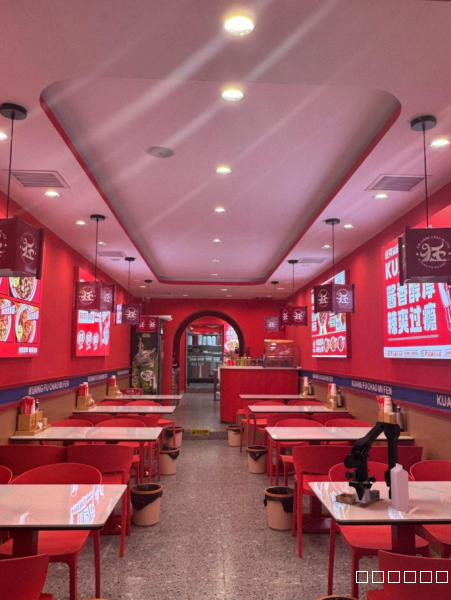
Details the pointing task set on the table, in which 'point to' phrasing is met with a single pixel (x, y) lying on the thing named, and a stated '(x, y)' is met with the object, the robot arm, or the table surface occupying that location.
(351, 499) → the frame
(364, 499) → the block
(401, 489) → the milk
